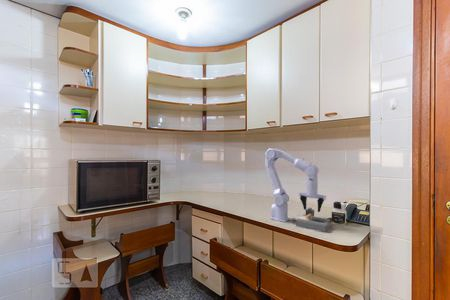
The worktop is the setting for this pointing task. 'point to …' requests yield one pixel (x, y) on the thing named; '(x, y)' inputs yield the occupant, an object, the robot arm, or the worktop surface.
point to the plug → (310, 211)
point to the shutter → (304, 217)
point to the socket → (315, 223)
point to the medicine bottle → (339, 213)
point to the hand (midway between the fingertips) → (311, 210)
